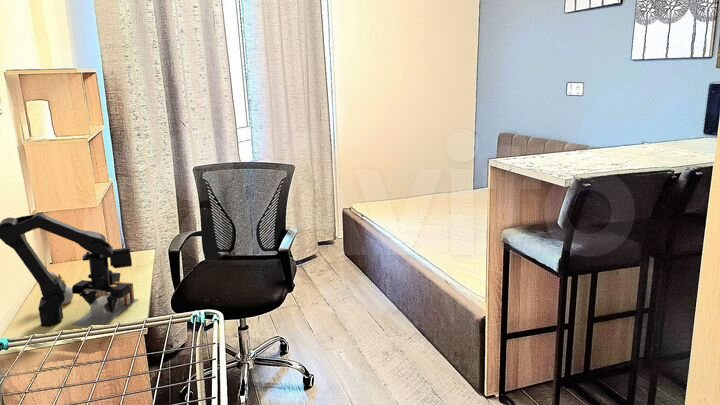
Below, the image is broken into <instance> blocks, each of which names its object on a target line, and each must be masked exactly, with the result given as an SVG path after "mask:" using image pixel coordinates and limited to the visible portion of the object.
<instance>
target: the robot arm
mask: <svg viewBox="0 0 720 405" xmlns="http://www.w3.org/2000/svg"><path fill="white" fill-rule="evenodd" d="M37 229H41V230H43V231H46V232H49V233H51V234H53V235H56V236H58V237H61V238H64V239H66V240H69V241H71V242H74V243H75V244H77V245H79V247H81V248H82V249H84V250H85V251H86V253H85V254H84V255H82V261H83V262H84V261H88V262H89V263H88V264H89V272H90V273H89V274H88V275H87V278H88V279H90V280H83V279H81V280H80V281H78V282H77V283H75V284H73V285H72V287H71V289H72V293H73V295H79V297H82V299H84V301H85V302H87V304H88V306H90V304H91V303H93V302H94V301H95V300H97V298H96V292H97V291H101V292H110V296H109V297H107V301H108V305H109V309H110V312H111V313H112V312H114V309H115V305H116V302H117V300H118V298H123V297H124V296H126V295H127V294H128V293H130V292H131V287H130V286H129V285H127V284H118V285H113V284H114V282H121V272H114V271H112V270H111V269H110V268H109V267H112V268H114V269H121V268H129V267H133V262H132V255H131V250H130V247H129V246H128V247H124V248H113V246H112V245H111V244H110V243H109V242H107V239H106V237H105V236H106V235H104V234H102V233H101V232H96V231H92V230H83V229H79V228H77V227H74V226H71V225H70V224H68V223H65V222H62V221H60V220H58V219H55V218H52V217H50V216H48V215H46V214H44V213H42V212H37V213H35V214H29V215H24V216H19V217H15V218H14V217H6V218H4V219H2V220H1V221H0V240H1V241H2V242H3V243H4V244H5V245H6V246H8V247H10V248H11V249H13V251H14V252H15V253H16V254H17V256H18V257H19V258H20V260H21V261H22V263H23V264H24V265H25V267H26V269H27V270H28V271H29V273H30V274H31V275H32V277H33V278H34V280H35V281H36V282H37V284H38V285H39V289H40V292H41V295H42V297H41V298H40V301H39V304H38V309H37V310H38V312H39V320H40V325H41V326H40V327H44V328H45V327H46V328H51V327H53V326H57V325H59V324H61V323H62V321H63V319H64V314H63V307H62V305H61V304H62V303H63V302H64V300H65V294H66V285H67V284H66V283H65V284H64V283H63V282H62V280H63V279H61V278H60V276H59V277H58V278H54V277H53V276H51V275H50V273H49V272H50V271H48V269H47V268H46V266H45V265H44V263H43V262H42V260H41V259H40V257H39V256H38V255H37V253H36V251H35V250H34V249H33V247H32V246H31V245H30V243H29V242H28V239H27V237H26V234H25V233H28V232H31V231H33V230H37ZM109 261H110V266H109ZM110 285H113V286H115V287H110Z"/></svg>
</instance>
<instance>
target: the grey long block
mask: <svg viewBox="0 0 720 405" xmlns="http://www.w3.org/2000/svg"><path fill="white" fill-rule="evenodd" d="M109 296H110V292H107V293H106V294H104V295H103V296H101V297H100V298H96V300H95V301H94V302H93V303H91V304H90V305H89V306H90V312H91V317H92V318H102V319H105V318H107V317H108V316H109V315H111V314H112V313H113V312H112V313H111V312H110V309H109V305H108V301H107V297H109ZM128 300H130V295H129V293H128ZM123 305H124V297H123V298H118V300H117V302H116V305H115V309H114V312H115V311H116V310H117V309H119V308H120V307H121V306H123Z"/></svg>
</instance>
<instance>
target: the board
mask: <svg viewBox="0 0 720 405" xmlns="http://www.w3.org/2000/svg"><path fill="white" fill-rule="evenodd" d="M138 301H140V299H139V298H134V302H130V300H129V306H125V305H123V306H121V307H120V308H119V309H117V310H116V311H115V312H113V313H112V314H111V315H109V316H108V317H107V318H105V319H102V318H92V317H91V311H89V312H87V313H86V314H85V315H84V316H82V317H81V318H79V319H78V320H76V321H75V322H74V323H72V324H71V326H76V327H86V328H88V327H87V326H91V325H106V324H107V325H108V324H109V323H111V322H112V321H113V320H115V319H116V318H117V317H119V316H120V315H121V314H122V313H124V312H125V311H126V310H128V309H129V308H130V307H132V306H133V305H134V304H135V303H137V302H138ZM107 325H106V326H107Z"/></svg>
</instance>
